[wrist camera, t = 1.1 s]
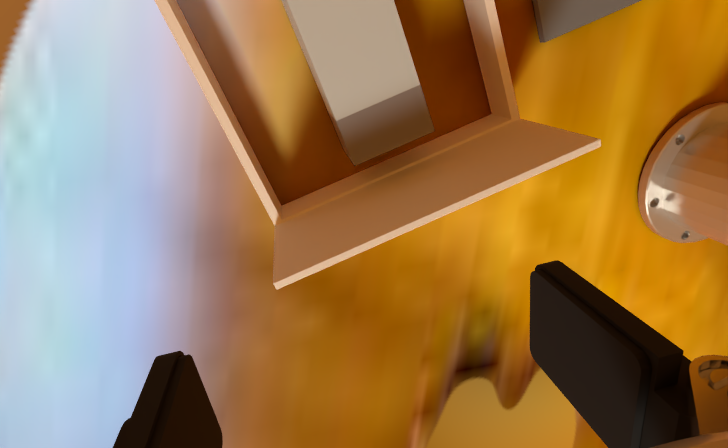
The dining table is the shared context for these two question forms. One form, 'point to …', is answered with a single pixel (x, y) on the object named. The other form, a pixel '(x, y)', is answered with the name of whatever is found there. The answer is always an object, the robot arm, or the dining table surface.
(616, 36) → the dining table surface
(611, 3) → the slate mat
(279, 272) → the carton
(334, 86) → the box
